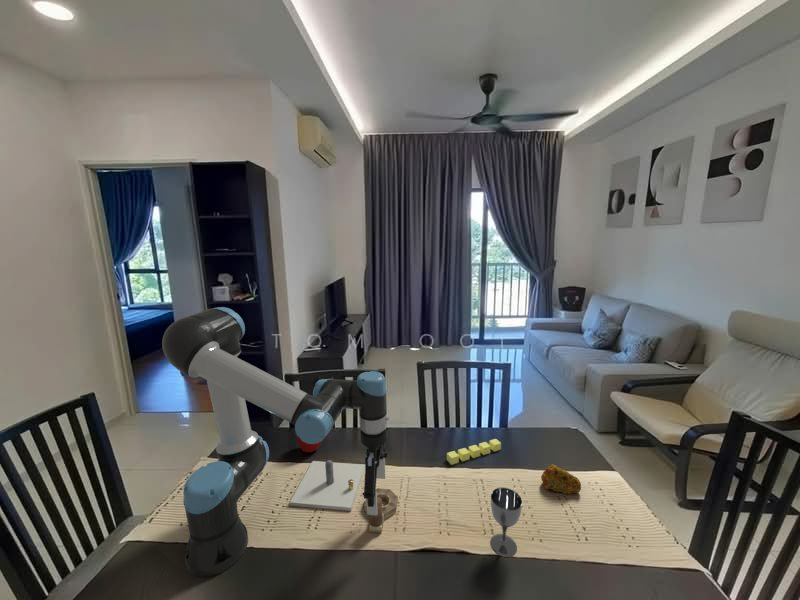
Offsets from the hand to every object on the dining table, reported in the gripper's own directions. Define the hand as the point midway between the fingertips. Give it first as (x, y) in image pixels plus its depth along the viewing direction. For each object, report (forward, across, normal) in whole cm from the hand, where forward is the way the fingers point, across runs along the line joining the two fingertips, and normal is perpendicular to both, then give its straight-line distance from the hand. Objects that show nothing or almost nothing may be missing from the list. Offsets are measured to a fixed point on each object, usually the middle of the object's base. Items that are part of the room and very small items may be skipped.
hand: (376, 494), depth 98 cm
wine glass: (+12, -2, -35) cm, 37 cm away
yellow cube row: (+12, +38, -29) cm, 50 cm away
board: (+11, +15, +20) cm, 27 cm away
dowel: (+11, +13, +12) cm, 21 cm away
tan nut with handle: (+11, +6, +1) cm, 13 cm away
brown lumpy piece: (+13, +22, -58) cm, 63 cm away
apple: (+11, +33, +34) cm, 48 cm away
